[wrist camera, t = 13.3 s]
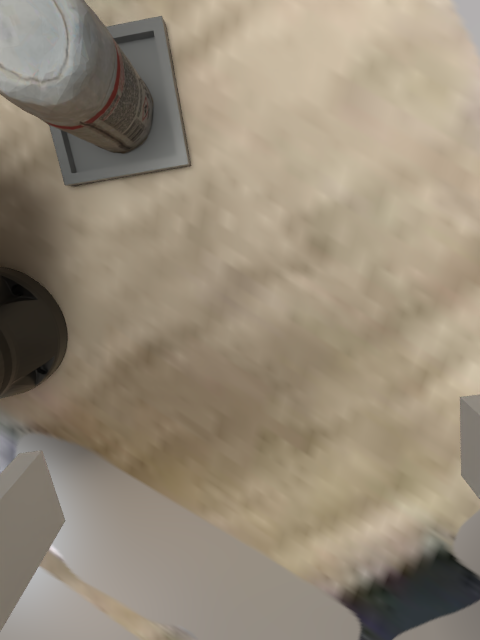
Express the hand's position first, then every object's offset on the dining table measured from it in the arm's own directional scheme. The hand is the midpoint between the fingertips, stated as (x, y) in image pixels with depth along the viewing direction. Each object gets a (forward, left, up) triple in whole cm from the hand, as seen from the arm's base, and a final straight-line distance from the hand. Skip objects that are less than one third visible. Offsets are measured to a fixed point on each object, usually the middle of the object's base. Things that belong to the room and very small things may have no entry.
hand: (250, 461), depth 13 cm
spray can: (-11, +19, -34) cm, 41 cm away
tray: (-11, +19, -35) cm, 41 cm away
